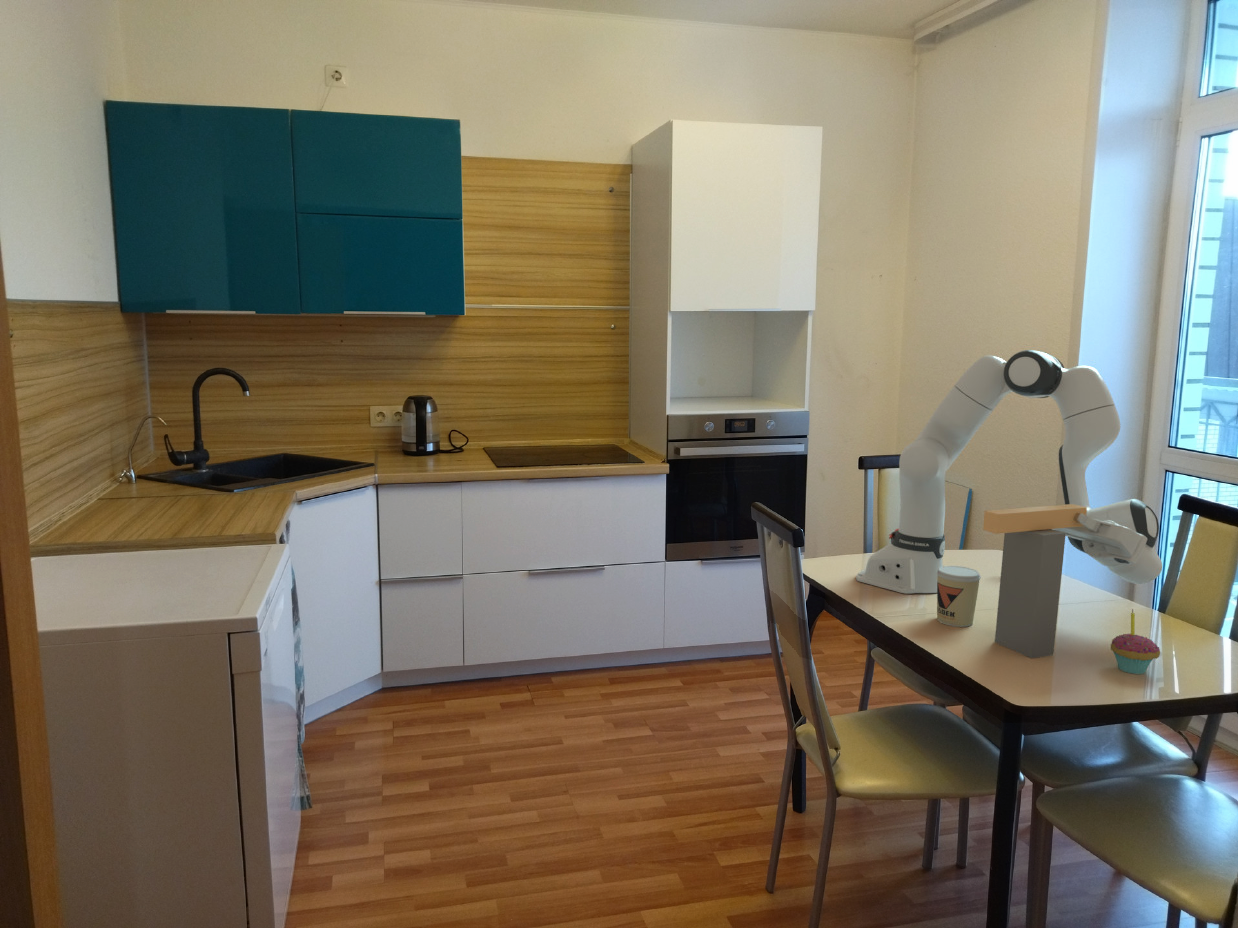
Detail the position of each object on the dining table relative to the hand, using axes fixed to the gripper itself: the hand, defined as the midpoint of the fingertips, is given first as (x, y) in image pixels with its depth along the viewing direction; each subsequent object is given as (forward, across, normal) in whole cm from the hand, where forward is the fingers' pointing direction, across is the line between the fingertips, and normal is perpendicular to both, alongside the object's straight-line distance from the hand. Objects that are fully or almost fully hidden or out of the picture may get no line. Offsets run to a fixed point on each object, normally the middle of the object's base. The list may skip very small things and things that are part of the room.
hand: (1067, 513), depth 186 cm
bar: (+6, 0, +6) cm, 9 cm away
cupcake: (-17, +16, +23) cm, 33 cm away
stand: (-7, 0, +29) cm, 30 cm away
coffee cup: (-6, -19, +30) cm, 36 cm away
